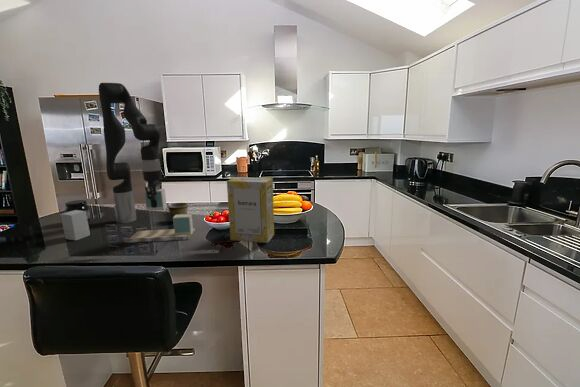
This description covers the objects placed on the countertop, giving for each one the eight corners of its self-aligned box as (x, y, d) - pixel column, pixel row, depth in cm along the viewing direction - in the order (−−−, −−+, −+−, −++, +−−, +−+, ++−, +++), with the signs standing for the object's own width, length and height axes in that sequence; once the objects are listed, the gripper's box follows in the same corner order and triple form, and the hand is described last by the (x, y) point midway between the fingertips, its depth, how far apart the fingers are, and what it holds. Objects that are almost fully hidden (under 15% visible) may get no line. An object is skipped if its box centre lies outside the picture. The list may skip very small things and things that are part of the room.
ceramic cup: (192, 221, 156) (191, 204, 154) (175, 226, 149) (173, 208, 147) (181, 217, 165) (180, 200, 163) (164, 221, 158) (162, 204, 156)
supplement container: (63, 224, 155) (59, 203, 152) (83, 218, 165) (79, 198, 162) (76, 226, 151) (71, 205, 149) (95, 220, 161) (91, 200, 158)
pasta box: (230, 239, 130) (226, 181, 124) (239, 231, 140) (236, 177, 134) (267, 242, 126) (265, 182, 120) (274, 234, 136) (272, 178, 130)
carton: (146, 210, 128) (143, 191, 125) (150, 208, 132) (148, 189, 130) (163, 210, 128) (161, 191, 126) (166, 207, 133) (164, 188, 131)
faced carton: (174, 235, 132) (172, 217, 130) (177, 232, 137) (175, 214, 135) (191, 235, 133) (189, 217, 131) (193, 231, 137) (191, 214, 135)
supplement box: (90, 235, 138) (86, 210, 135) (75, 240, 131) (70, 215, 129) (80, 233, 141) (75, 209, 138) (64, 239, 134) (59, 213, 131)
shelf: (124, 245, 125) (123, 239, 124) (138, 233, 139) (137, 227, 139) (189, 242, 128) (188, 235, 127) (196, 230, 142) (195, 224, 142)
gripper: (154, 171, 119) (159, 209, 123) (165, 167, 133) (169, 201, 137) (136, 172, 119) (141, 210, 123) (149, 167, 133) (153, 202, 136)
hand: (156, 205), depth 130 cm, fingers closed on carton, 4 cm apart
